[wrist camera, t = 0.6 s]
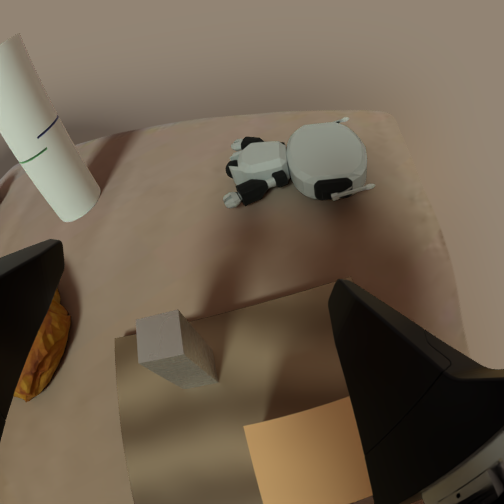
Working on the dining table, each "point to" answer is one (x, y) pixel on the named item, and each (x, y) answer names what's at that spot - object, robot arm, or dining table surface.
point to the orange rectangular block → (310, 457)
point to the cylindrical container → (41, 136)
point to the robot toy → (300, 164)
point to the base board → (225, 399)
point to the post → (175, 350)
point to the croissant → (45, 351)
